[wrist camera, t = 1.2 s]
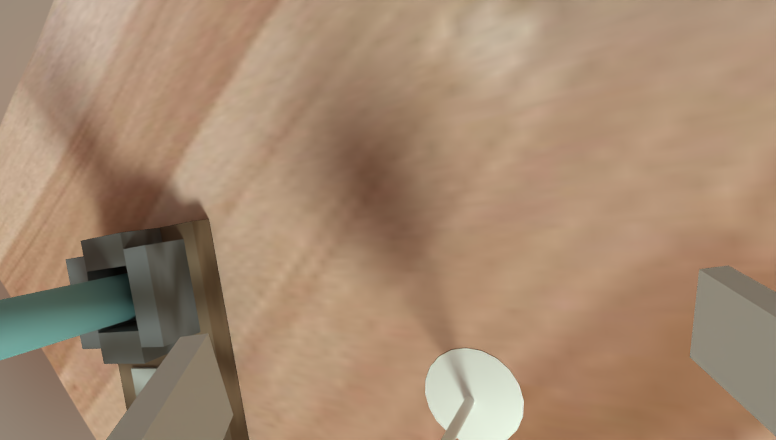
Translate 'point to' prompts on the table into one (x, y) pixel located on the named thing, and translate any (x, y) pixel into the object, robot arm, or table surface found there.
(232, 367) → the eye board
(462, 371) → the wineglass
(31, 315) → the disc-capped post
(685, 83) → the table surface
